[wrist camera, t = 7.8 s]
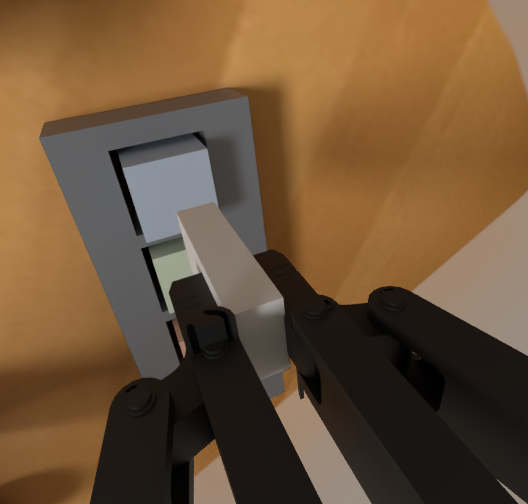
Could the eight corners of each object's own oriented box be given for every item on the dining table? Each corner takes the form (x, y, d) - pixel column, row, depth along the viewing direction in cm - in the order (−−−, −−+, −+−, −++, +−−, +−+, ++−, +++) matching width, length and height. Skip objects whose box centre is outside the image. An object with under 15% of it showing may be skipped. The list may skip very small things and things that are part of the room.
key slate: (137, 214, 22) (146, 243, 20) (116, 147, 20) (122, 168, 17) (204, 197, 24) (221, 221, 21) (189, 131, 21) (207, 148, 19)
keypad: (162, 408, 33) (169, 441, 30) (44, 122, 20) (39, 138, 17) (269, 365, 36) (284, 391, 33) (228, 87, 22) (248, 96, 20)
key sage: (159, 282, 26) (169, 313, 23) (143, 231, 24) (152, 259, 21) (215, 264, 27) (231, 292, 25) (205, 214, 25) (221, 239, 22)
